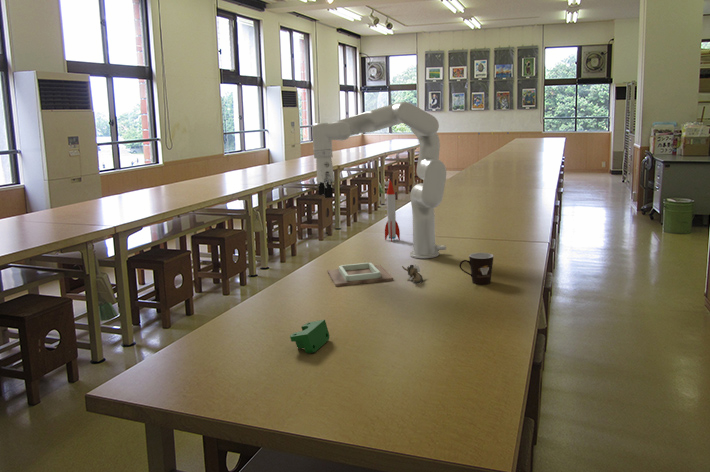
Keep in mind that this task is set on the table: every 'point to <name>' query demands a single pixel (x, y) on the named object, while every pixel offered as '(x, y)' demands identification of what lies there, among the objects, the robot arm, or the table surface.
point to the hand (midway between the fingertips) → (325, 196)
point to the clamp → (311, 336)
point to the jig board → (359, 274)
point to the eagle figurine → (414, 273)
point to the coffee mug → (480, 267)
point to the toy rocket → (391, 215)
